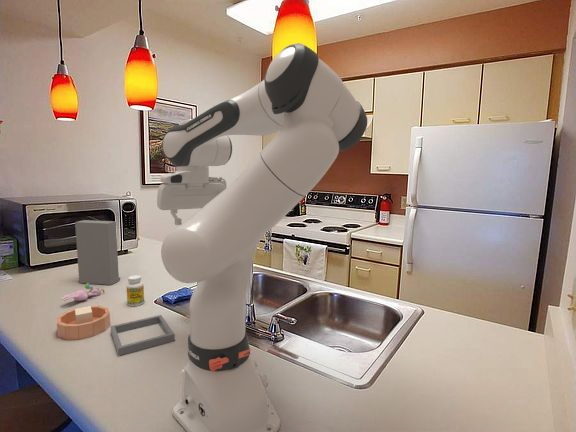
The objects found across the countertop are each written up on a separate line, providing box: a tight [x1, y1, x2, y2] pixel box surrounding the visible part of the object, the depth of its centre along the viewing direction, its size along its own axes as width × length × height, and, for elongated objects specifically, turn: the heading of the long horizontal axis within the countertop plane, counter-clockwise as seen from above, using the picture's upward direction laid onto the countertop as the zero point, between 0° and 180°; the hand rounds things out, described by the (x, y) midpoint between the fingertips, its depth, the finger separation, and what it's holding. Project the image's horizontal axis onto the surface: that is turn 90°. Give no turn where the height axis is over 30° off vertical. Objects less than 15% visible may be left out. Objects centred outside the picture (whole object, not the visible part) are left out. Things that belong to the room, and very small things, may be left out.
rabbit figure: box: [60, 283, 105, 302], centre depth 117 cm, size 6×6×15 cm
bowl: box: [56, 305, 111, 341], centre depth 97 cm, size 13×13×4 cm
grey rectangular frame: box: [109, 314, 175, 357], centre depth 93 cm, size 14×14×2 cm
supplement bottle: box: [126, 274, 145, 307], centre depth 115 cm, size 5×5×10 cm
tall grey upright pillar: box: [74, 219, 121, 286], centre depth 133 cm, size 14×6×25 cm, turn 84°
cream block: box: [74, 305, 93, 324], centre depth 97 cm, size 5×4×4 cm
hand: (194, 223), depth 99 cm, fingers open, 8 cm apart
